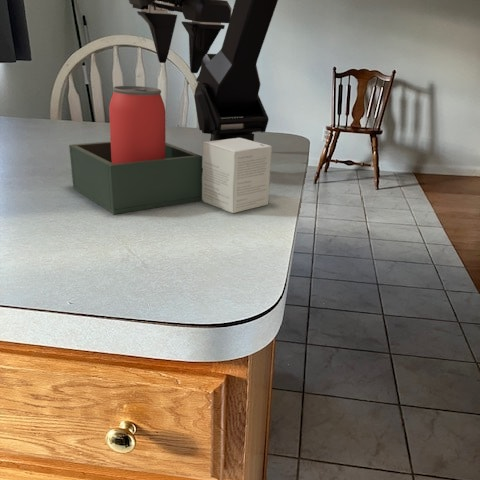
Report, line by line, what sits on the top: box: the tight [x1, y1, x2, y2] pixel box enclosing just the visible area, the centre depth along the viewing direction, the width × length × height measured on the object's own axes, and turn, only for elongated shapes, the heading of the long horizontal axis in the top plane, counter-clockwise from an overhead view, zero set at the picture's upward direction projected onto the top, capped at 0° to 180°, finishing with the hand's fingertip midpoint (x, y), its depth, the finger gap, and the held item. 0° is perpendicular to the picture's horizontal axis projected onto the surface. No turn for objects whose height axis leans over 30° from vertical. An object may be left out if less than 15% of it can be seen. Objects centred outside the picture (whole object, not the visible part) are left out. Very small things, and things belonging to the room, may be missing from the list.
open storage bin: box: [68, 140, 203, 215], centre depth 68 cm, size 12×12×6 cm
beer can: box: [108, 85, 166, 164], centre depth 66 cm, size 7×7×12 cm
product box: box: [201, 138, 273, 214], centre depth 66 cm, size 6×6×7 cm
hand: (177, 67), depth 86 cm, fingers open, 9 cm apart
